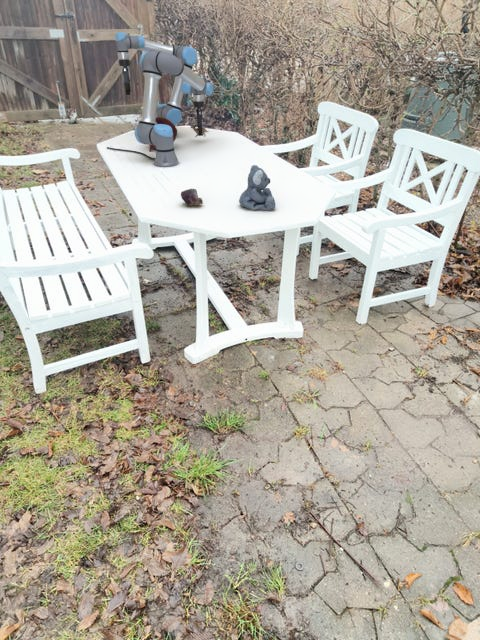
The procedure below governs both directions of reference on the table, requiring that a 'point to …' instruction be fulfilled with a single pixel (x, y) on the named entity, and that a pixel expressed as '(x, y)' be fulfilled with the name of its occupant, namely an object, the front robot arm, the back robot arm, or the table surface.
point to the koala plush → (257, 191)
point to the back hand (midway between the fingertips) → (128, 93)
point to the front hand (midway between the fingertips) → (200, 134)
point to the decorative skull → (165, 121)
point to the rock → (191, 197)
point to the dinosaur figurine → (198, 131)
